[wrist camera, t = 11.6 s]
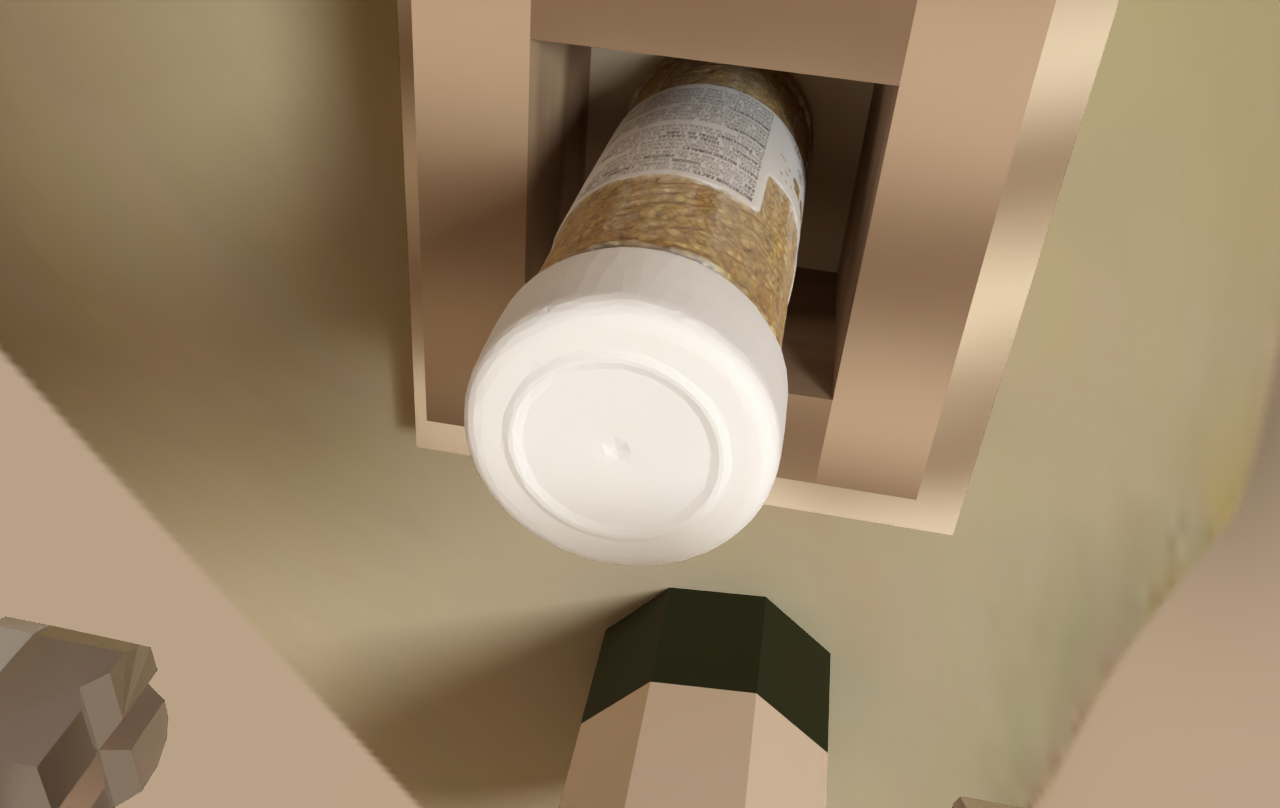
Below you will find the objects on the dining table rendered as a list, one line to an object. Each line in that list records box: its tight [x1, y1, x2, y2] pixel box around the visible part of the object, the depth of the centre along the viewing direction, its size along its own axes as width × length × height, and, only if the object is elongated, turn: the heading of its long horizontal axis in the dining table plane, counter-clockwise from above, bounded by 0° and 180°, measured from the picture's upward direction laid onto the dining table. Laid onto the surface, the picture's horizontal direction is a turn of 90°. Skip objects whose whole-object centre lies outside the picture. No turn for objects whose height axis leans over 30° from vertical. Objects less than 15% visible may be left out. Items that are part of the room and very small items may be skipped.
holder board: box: [397, 0, 1119, 535], centre depth 24 cm, size 22×16×8 cm
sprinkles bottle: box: [464, 56, 813, 566], centre depth 21 cm, size 5×5×14 cm
